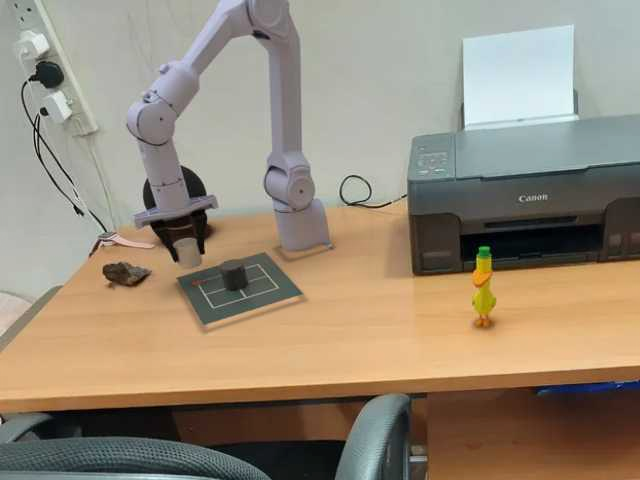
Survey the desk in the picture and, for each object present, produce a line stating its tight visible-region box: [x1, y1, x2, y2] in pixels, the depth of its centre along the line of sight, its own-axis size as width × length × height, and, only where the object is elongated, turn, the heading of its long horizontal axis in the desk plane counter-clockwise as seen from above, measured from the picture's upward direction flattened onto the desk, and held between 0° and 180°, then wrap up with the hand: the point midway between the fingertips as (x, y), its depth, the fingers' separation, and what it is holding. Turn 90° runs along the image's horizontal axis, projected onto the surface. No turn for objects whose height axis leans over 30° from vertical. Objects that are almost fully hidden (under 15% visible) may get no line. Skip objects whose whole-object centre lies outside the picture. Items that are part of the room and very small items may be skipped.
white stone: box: [173, 238, 204, 270], centre depth 119 cm, size 4×4×4 cm
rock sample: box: [101, 261, 153, 286], centre depth 128 cm, size 10×8×9 cm
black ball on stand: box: [142, 164, 213, 246], centre depth 141 cm, size 13×13×15 cm
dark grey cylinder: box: [219, 258, 249, 291], centre depth 119 cm, size 4×4×4 cm
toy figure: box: [471, 246, 497, 328], centre depth 98 cm, size 7×4×12 cm, turn 158°
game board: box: [176, 251, 304, 326], centre depth 120 cm, size 18×22×1 cm
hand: (189, 256), depth 120 cm, fingers closed on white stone, 4 cm apart
